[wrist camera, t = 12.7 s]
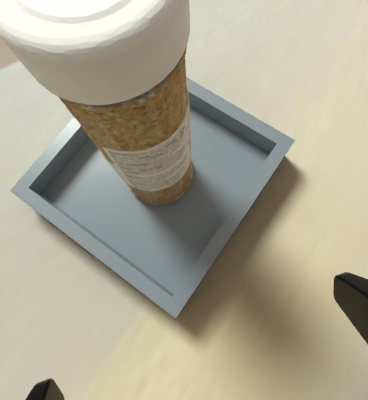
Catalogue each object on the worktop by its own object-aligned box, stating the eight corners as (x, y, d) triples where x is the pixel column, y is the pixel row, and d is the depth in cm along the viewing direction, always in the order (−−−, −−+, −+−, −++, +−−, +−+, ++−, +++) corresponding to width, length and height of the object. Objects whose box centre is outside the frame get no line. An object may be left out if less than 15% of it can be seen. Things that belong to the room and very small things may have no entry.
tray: (284, 154, 19) (295, 140, 17) (178, 312, 17) (175, 318, 15) (140, 69, 22) (134, 47, 20) (30, 199, 20) (10, 190, 17)
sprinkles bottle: (126, 145, 20) (-16, -109, 6) (192, 140, 19) (181, -129, 6) (127, 210, 18) (-45, 58, 5) (196, 205, 18) (195, 38, 5)
